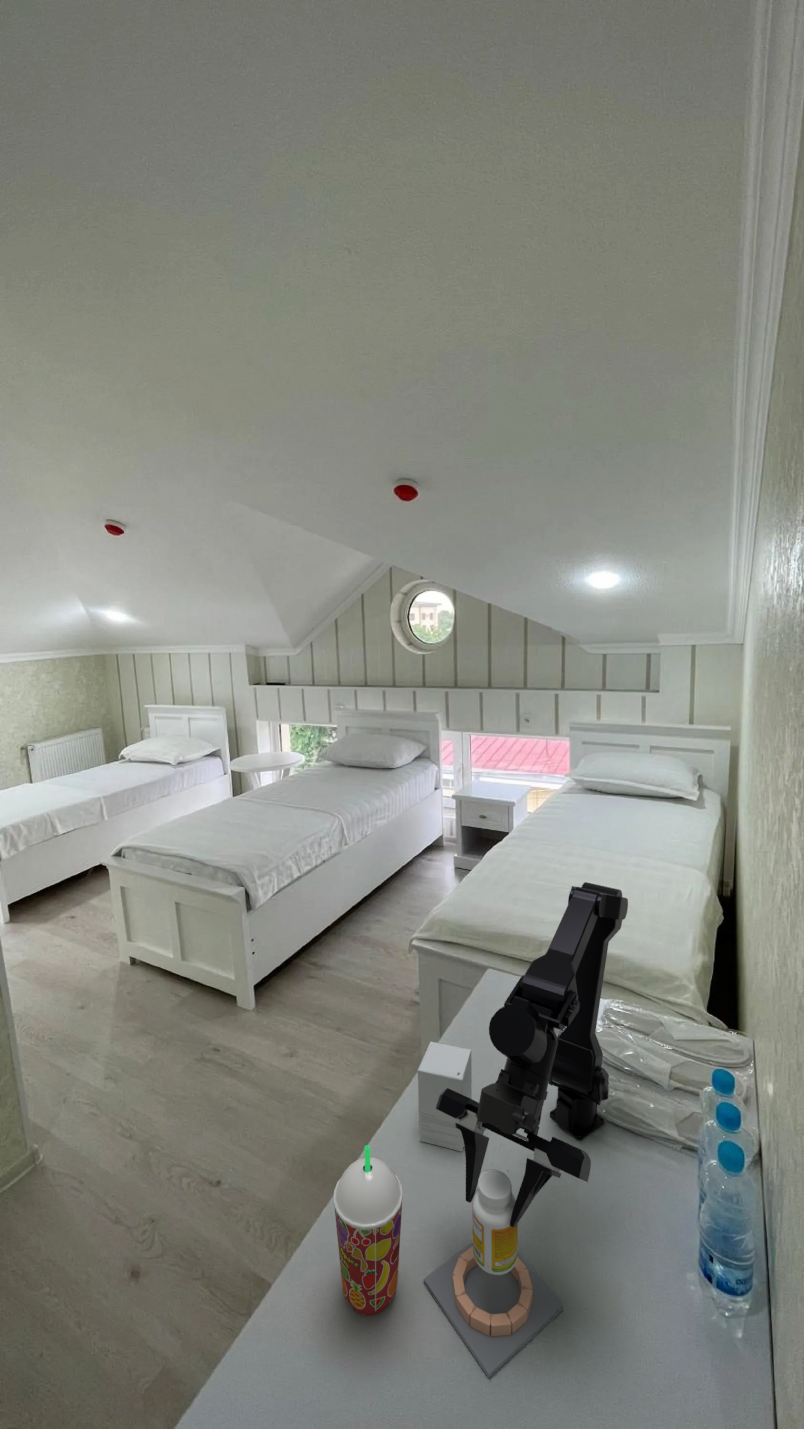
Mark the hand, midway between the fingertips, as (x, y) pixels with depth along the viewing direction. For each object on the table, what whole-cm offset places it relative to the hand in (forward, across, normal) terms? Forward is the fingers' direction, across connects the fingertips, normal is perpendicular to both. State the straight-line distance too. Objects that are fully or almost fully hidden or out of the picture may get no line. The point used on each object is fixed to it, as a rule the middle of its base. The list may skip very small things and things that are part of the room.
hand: (489, 1214), depth 72 cm
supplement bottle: (+4, 0, +6) cm, 7 cm away
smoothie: (+14, -13, +4) cm, 19 cm away
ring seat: (+8, 0, +10) cm, 13 cm away
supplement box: (-5, -17, +24) cm, 30 cm away
